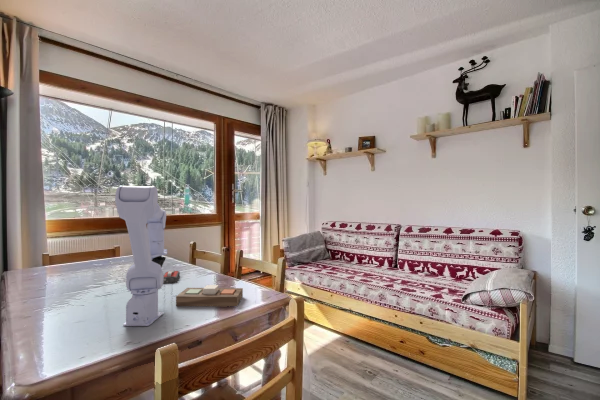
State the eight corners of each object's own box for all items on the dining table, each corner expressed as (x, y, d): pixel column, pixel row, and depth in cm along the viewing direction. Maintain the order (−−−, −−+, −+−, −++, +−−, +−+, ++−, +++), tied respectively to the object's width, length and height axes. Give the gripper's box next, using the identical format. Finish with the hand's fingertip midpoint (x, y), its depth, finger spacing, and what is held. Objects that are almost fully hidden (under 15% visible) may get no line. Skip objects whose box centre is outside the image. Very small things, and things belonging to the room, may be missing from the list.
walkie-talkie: (161, 277, 141) (151, 289, 122) (161, 268, 141) (151, 279, 122) (180, 276, 144) (174, 288, 124) (180, 267, 144) (174, 278, 124)
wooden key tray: (236, 306, 103) (236, 296, 103) (176, 306, 103) (176, 296, 103) (242, 297, 113) (242, 288, 113) (187, 296, 113) (187, 287, 113)
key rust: (232, 299, 105) (232, 293, 105) (220, 299, 105) (220, 293, 105) (235, 295, 110) (235, 289, 110) (223, 295, 110) (223, 289, 110)
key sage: (197, 298, 106) (197, 293, 105) (185, 298, 106) (185, 292, 106) (201, 294, 110) (201, 289, 110) (190, 294, 110) (190, 289, 110)
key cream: (214, 294, 105) (214, 288, 105) (203, 294, 105) (203, 288, 105) (218, 290, 110) (218, 285, 110) (207, 290, 110) (207, 285, 110)
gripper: (156, 244, 98) (156, 283, 98) (175, 238, 113) (175, 272, 113) (136, 244, 98) (136, 283, 99) (157, 238, 113) (157, 272, 113)
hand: (155, 277), depth 106 cm, fingers closed
